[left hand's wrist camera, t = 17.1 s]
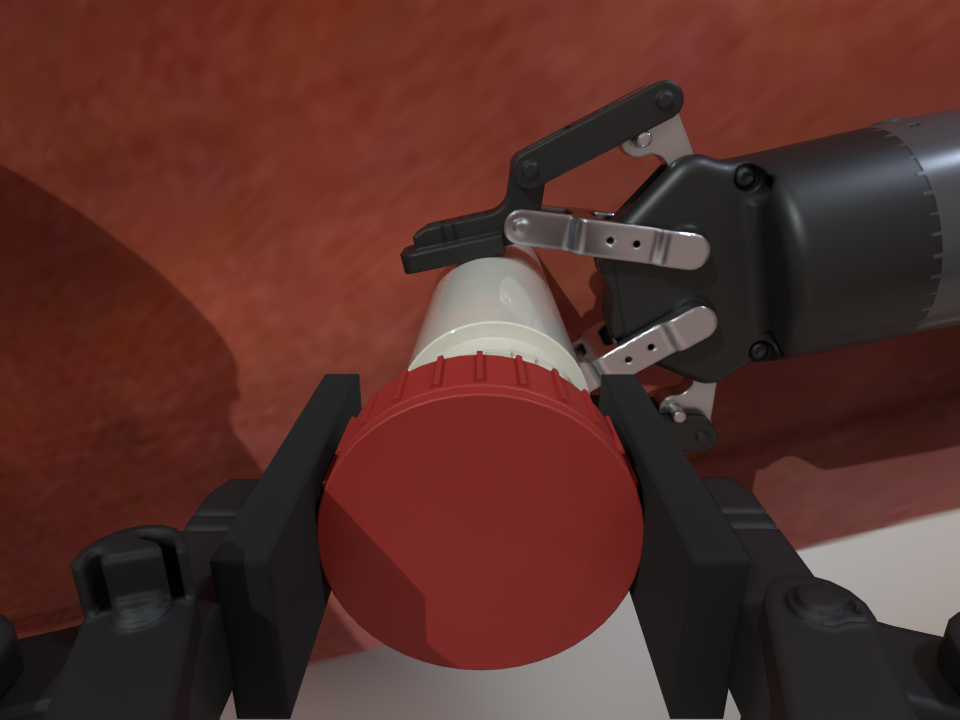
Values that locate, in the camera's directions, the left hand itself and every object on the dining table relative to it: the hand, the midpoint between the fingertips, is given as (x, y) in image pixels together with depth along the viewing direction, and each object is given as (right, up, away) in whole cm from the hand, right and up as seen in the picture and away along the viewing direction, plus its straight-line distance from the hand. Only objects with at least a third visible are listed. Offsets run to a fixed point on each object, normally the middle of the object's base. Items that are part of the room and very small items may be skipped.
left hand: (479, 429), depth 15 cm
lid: (0, -1, -4) cm, 4 cm away
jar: (+1, +5, +15) cm, 16 cm away
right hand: (-2, +3, +10) cm, 10 cm away
